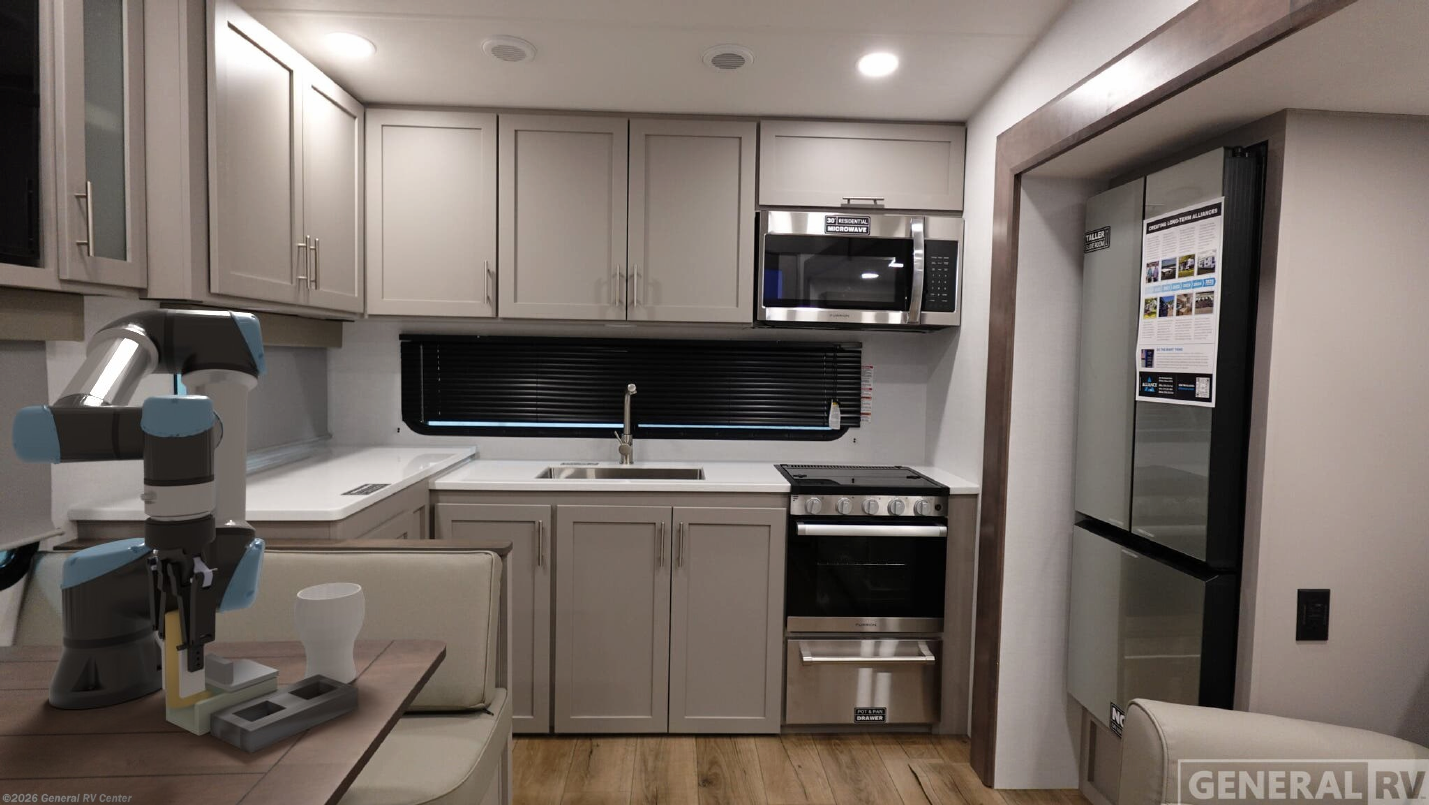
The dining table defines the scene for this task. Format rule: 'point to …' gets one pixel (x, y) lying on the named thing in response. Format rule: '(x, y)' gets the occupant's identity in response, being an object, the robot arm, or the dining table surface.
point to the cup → (329, 628)
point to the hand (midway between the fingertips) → (183, 689)
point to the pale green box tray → (214, 705)
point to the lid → (235, 673)
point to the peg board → (283, 712)
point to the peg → (174, 662)
